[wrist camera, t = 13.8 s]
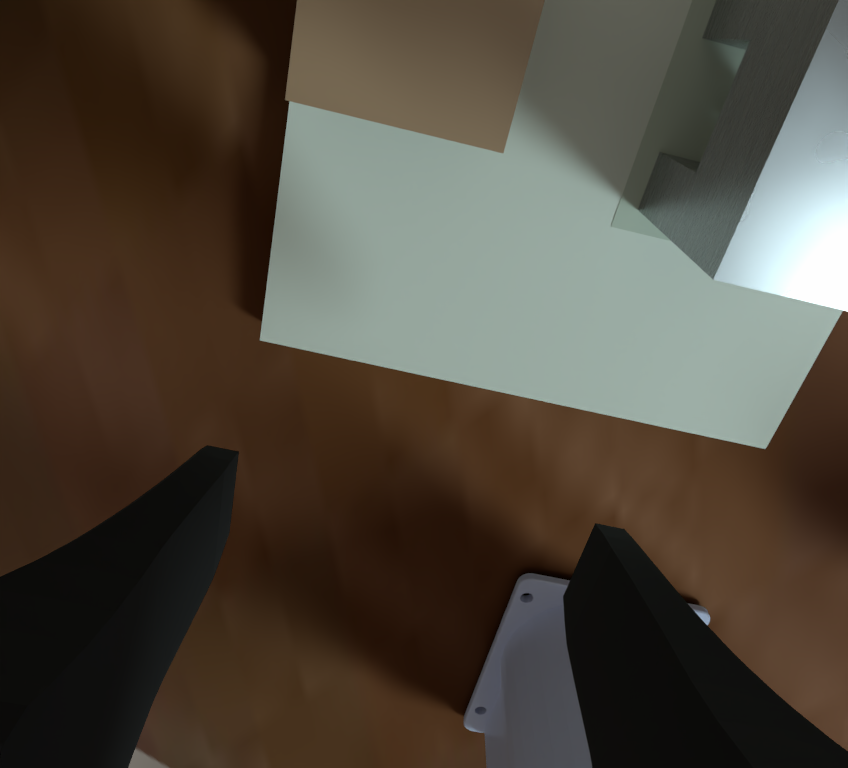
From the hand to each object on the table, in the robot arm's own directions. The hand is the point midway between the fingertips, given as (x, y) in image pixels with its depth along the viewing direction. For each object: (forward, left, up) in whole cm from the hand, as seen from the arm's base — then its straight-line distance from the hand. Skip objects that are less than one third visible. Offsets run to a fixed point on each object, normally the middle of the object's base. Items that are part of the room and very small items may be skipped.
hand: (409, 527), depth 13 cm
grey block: (+9, -7, -9) cm, 14 cm away
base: (+6, -4, -10) cm, 12 cm away
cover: (+9, +2, -9) cm, 13 cm away
